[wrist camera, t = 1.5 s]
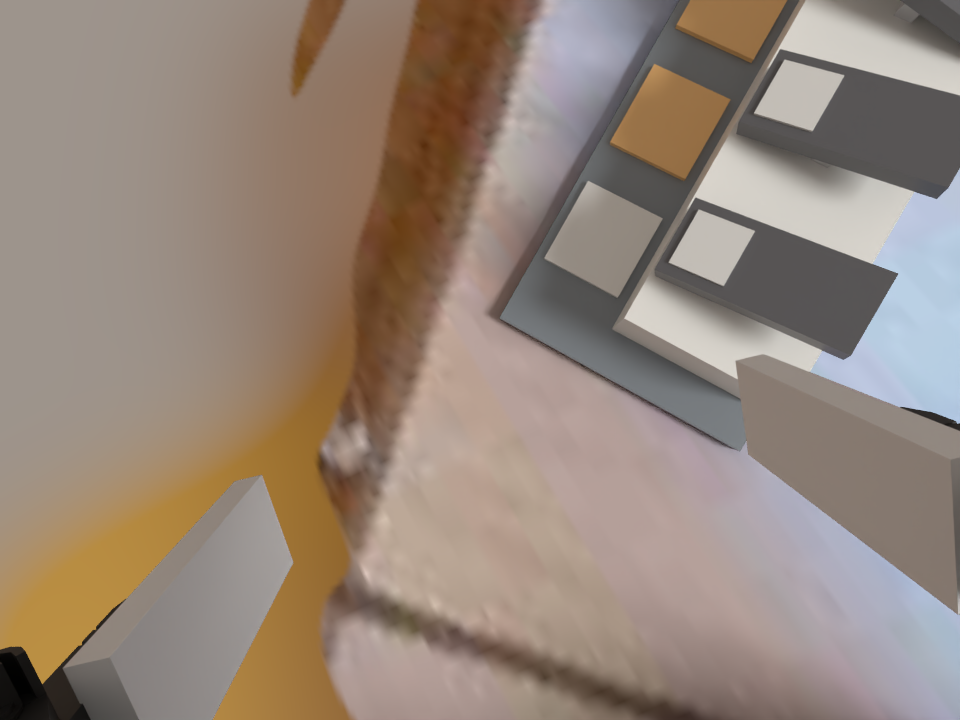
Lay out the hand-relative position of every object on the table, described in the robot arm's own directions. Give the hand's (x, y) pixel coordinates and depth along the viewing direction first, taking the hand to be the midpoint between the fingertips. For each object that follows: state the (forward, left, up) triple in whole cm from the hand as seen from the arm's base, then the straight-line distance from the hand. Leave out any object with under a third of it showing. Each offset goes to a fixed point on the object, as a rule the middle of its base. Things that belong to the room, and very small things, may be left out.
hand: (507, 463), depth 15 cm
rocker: (-7, -13, -15) cm, 21 cm away
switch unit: (-4, -22, -24) cm, 33 cm away
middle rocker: (-7, -22, -15) cm, 27 cm away
